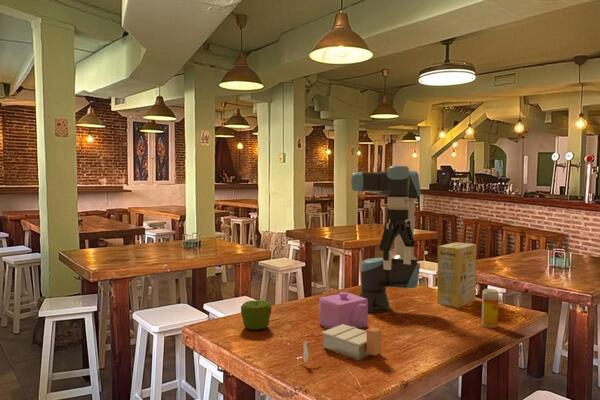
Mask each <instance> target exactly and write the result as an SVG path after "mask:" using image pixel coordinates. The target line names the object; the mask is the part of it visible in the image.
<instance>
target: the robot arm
mask: <svg viewBox="0 0 600 400" xmlns="http://www.w3.org/2000/svg"><path fill="white" fill-rule="evenodd" d="M350 181H351V182H350V186H351V189H352V192H353V191H354V192H369V193H371V194H375V195H379V196H387V199H386V200H387V204H386V205H387V208H388V209H387V214H386V215H387V217H386V219H388V220H389V221H390V222H384V228H383V233H382V235H381V240H380V243H379V244H380V245H379V248H378V249H379V250H380V251H381V252H383V257H372V258H367V259H364V260H363V261H361V266H360V292H359V293H360V294H359V296H360V297H363V298H366V299H368V313H385V312H388V311H390V309H391V303H390V301H389V297H388V293H387V288H395V289H396V288H399V289H415V288H417V286H418V282H419V274H420V268H421V263H419V262H418V259H417V257H416V256H415V253H414V252H415V248H414V247H415V243H416V242H415V203H416V202H418V197H421V196H422V193H421V192H422V191H421V185H420V176H419V173H418V172H417V171H414V170H410V168H409V167H408V166H407V165H390V166H389V167H388V168H387V170H384V171H383V170H382V171H379V172H378V171H377V172H376V171H375V172H374V171H371V172H369V171H365V172H364V171H359V172H358V171H357V172H353V173H352V174H351V179H350ZM393 244H394V255H393V256H392V250H391V249H392V246H393Z"/></svg>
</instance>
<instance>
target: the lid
mask: <svg viewBox="0 0 600 400" xmlns="http://www.w3.org/2000/svg"><path fill="white" fill-rule="evenodd" d="M321 335H327V336H330V337H333V338H336V339H339V340H342V341H344V342H347V343H350V344H353V345H356V346H361V345H363V344H366V343H367V346H366V353H369V354H372V355H371V356H377V355H378V354H381V353H382V329H380V328H377V327H374V326H372V327H369V328H368V329H366V330H364V329H362V328H361V329H357V328H355V327H351V326H347V325H344V324H342V325H339V326H336V327H334V328H331V329H326V330H324V331H321Z"/></svg>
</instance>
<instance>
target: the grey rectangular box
mask: <svg viewBox="0 0 600 400" xmlns="http://www.w3.org/2000/svg"><path fill="white" fill-rule="evenodd" d="M322 335H323V337H322V338H323V346H322V347H325V348H327V349H330V350H333V351H335V352H338V353H340V354H343V355H345V356H344V357H346V356H348V357H347V358H349V357H350V359H351V358H353V359H352V360H354V359H356V360H355V361H357V360H358V361H357V362H360V361H362V360H364V359H366V358H368V357H367V356H369V357H370V355H371V356H373V355H372V354H369V353H366V346H367V343H366V344H363V345H361V346H356V345H353V344H350V343H347V342H344V341H342V340H339V339H336V338H333V337H330V336H327V335H324V334H322ZM327 349H326V350H327ZM330 350H329V351H330ZM335 352H334V353H335ZM338 353H337V354H338ZM340 354H339V355H340ZM343 355H342V356H343ZM365 357H366V358H365ZM363 358H364V359H363ZM361 359H362V360H361ZM359 360H360V361H359Z"/></svg>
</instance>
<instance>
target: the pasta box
mask: <svg viewBox="0 0 600 400" xmlns="http://www.w3.org/2000/svg"><path fill="white" fill-rule="evenodd" d="M476 270H477V244H475V243H467V242H459V241H457V242H456V241H455V242H451V243H447V244H442V245H437V294H436V296H437V299H436V301H437V302H436V303H437V304H438V305H442V306H447V307H451V308H457V309H459V308H461V307H463V306H466V305H468V304H470V303H472V302H475V301H476V292H477V291H476V289H477V288H476V283H477V282H476V281H477V280H476V279H477V271H476ZM458 307H459V308H458Z"/></svg>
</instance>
